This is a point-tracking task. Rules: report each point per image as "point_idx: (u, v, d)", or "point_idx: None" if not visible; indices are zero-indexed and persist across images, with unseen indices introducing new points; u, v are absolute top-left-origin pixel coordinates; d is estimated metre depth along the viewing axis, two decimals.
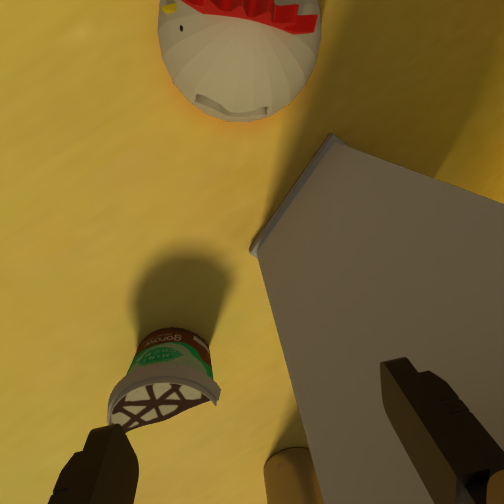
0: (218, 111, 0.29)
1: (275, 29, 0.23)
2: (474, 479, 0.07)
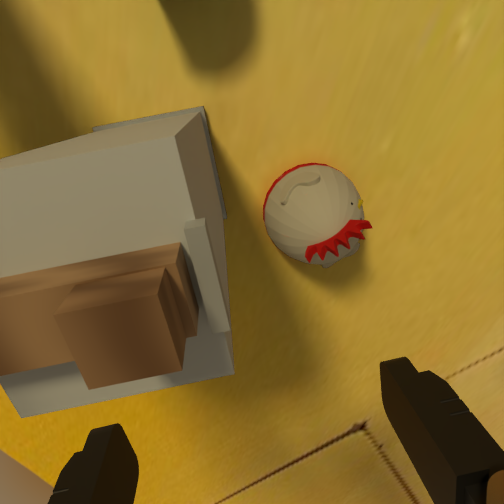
0: (306, 182, 0.45)
1: (318, 242, 0.43)
2: (474, 479, 0.07)
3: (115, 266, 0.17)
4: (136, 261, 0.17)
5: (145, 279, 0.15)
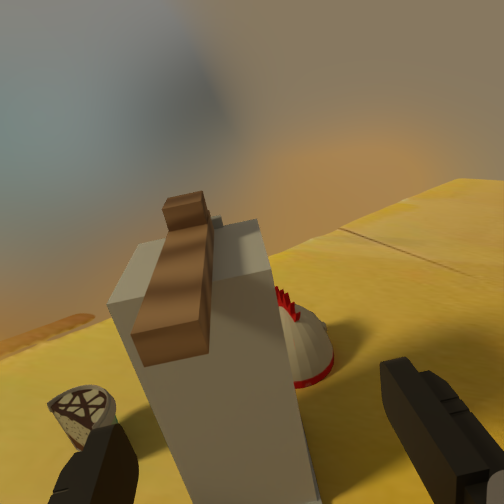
0: None
1: (289, 315, 0.60)
2: (474, 479, 0.07)
3: None
4: None
5: None
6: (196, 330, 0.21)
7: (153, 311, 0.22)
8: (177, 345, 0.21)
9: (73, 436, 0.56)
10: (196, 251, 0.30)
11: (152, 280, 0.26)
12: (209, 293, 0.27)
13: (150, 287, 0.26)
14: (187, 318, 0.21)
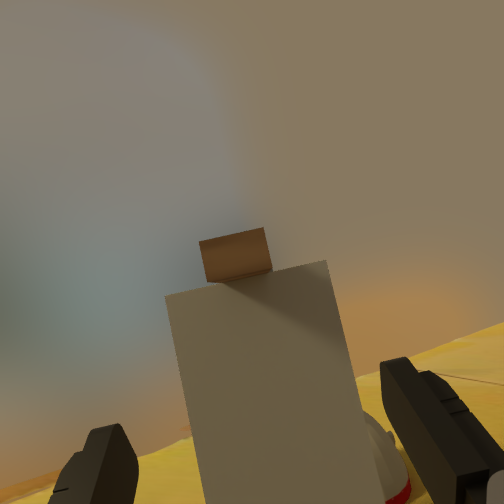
0: None
1: None
2: (474, 479, 0.07)
3: None
4: None
5: None
6: (260, 239, 0.22)
7: None
8: (242, 256, 0.22)
9: None
10: None
11: None
12: None
13: None
14: (252, 230, 0.22)
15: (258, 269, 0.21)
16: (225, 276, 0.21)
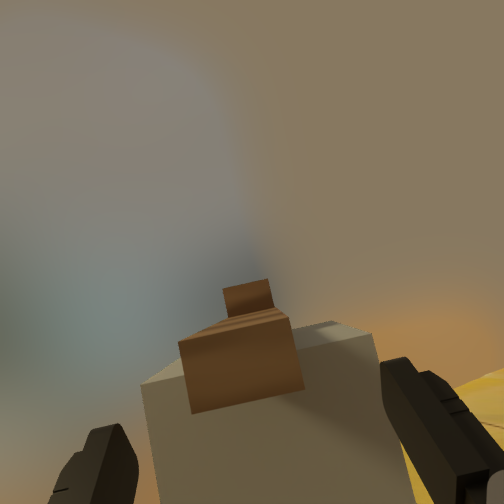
0: None
1: None
2: (474, 479, 0.07)
3: None
4: None
5: None
6: (284, 338, 0.13)
7: (213, 331, 0.15)
8: (252, 368, 0.12)
9: None
10: None
11: (210, 327, 0.19)
12: None
13: (208, 328, 0.18)
14: (270, 320, 0.13)
15: (280, 393, 0.12)
16: (223, 405, 0.12)
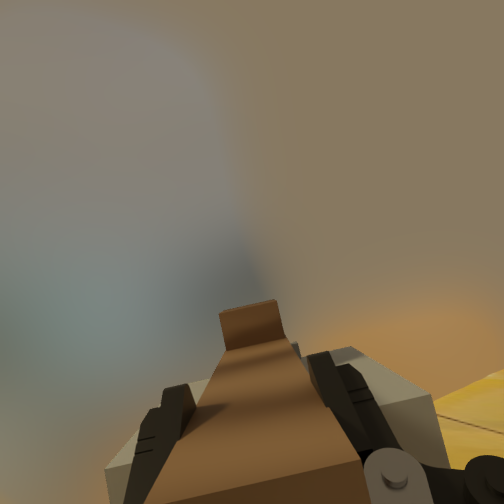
0: None
1: None
2: (360, 458, 0.08)
3: None
4: None
5: None
6: (352, 503, 0.06)
7: (210, 447, 0.08)
8: None
9: None
10: (282, 359, 0.16)
11: (204, 398, 0.13)
12: None
13: (200, 408, 0.12)
14: (321, 457, 0.07)
15: None
16: None
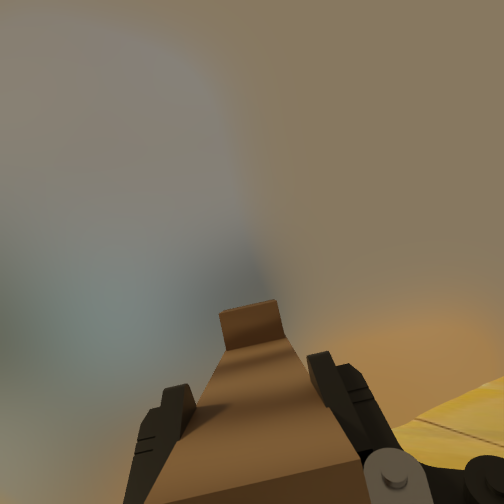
0: None
1: None
2: (360, 458, 0.08)
3: None
4: None
5: None
6: (353, 503, 0.06)
7: (210, 447, 0.08)
8: None
9: None
10: (282, 359, 0.16)
11: (204, 398, 0.13)
12: None
13: (200, 408, 0.12)
14: (321, 457, 0.07)
15: None
16: None
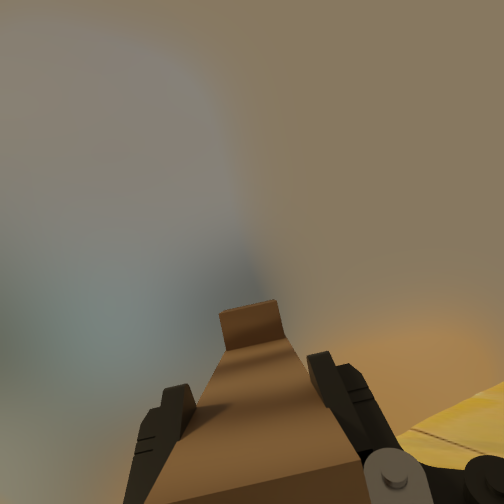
0: None
1: None
2: (360, 458, 0.08)
3: None
4: None
5: None
6: None
7: (210, 448, 0.08)
8: None
9: None
10: (282, 359, 0.16)
11: (204, 398, 0.13)
12: None
13: (200, 408, 0.12)
14: (322, 457, 0.07)
15: None
16: None
